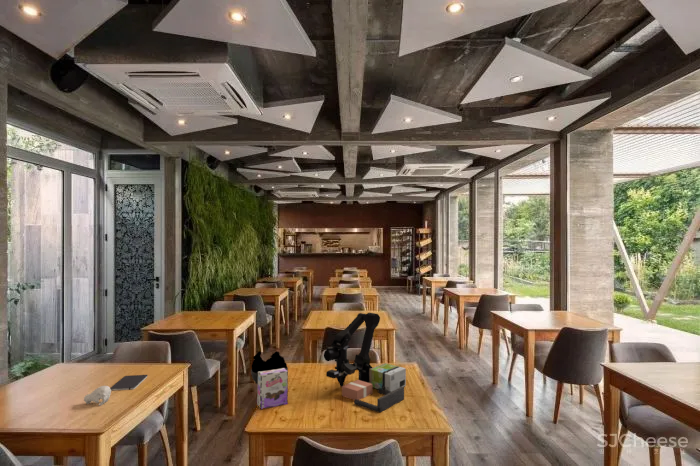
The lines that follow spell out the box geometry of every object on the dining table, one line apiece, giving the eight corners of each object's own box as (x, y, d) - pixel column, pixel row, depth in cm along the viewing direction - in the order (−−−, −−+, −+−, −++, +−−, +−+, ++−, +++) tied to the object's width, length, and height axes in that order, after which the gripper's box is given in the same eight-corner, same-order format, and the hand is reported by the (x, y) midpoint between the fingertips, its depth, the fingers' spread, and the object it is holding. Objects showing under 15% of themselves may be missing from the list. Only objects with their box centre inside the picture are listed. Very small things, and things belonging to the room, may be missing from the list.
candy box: (260, 409, 187) (260, 374, 188) (257, 405, 192) (257, 371, 193) (288, 404, 193) (288, 370, 194) (284, 400, 199) (284, 367, 199)
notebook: (125, 378, 232) (108, 391, 211) (125, 375, 232) (108, 388, 211) (148, 377, 234) (134, 390, 213) (148, 374, 234) (134, 387, 213)
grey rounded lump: (104, 388, 191) (79, 390, 191) (106, 405, 191) (80, 408, 190) (112, 383, 197) (87, 385, 197) (113, 400, 197) (89, 403, 197)
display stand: (354, 404, 194) (354, 391, 194) (379, 391, 210) (379, 380, 210) (380, 412, 184) (380, 399, 184) (404, 399, 200) (404, 387, 200)
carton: (341, 396, 204) (342, 386, 205) (357, 389, 214) (357, 379, 215) (357, 401, 198) (357, 390, 198) (372, 393, 208) (372, 383, 208)
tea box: (390, 374, 208) (368, 368, 217) (390, 393, 207) (368, 387, 217) (406, 367, 219) (384, 362, 229) (406, 385, 219) (384, 380, 228)
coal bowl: (295, 387, 216) (295, 352, 217) (263, 397, 202) (264, 360, 203) (274, 378, 231) (274, 346, 231) (243, 387, 216) (243, 352, 217)
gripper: (341, 364, 201) (341, 395, 201) (364, 356, 216) (363, 385, 215) (325, 360, 209) (325, 390, 208) (348, 352, 223) (348, 380, 222)
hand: (341, 386), depth 213 cm, fingers closed
